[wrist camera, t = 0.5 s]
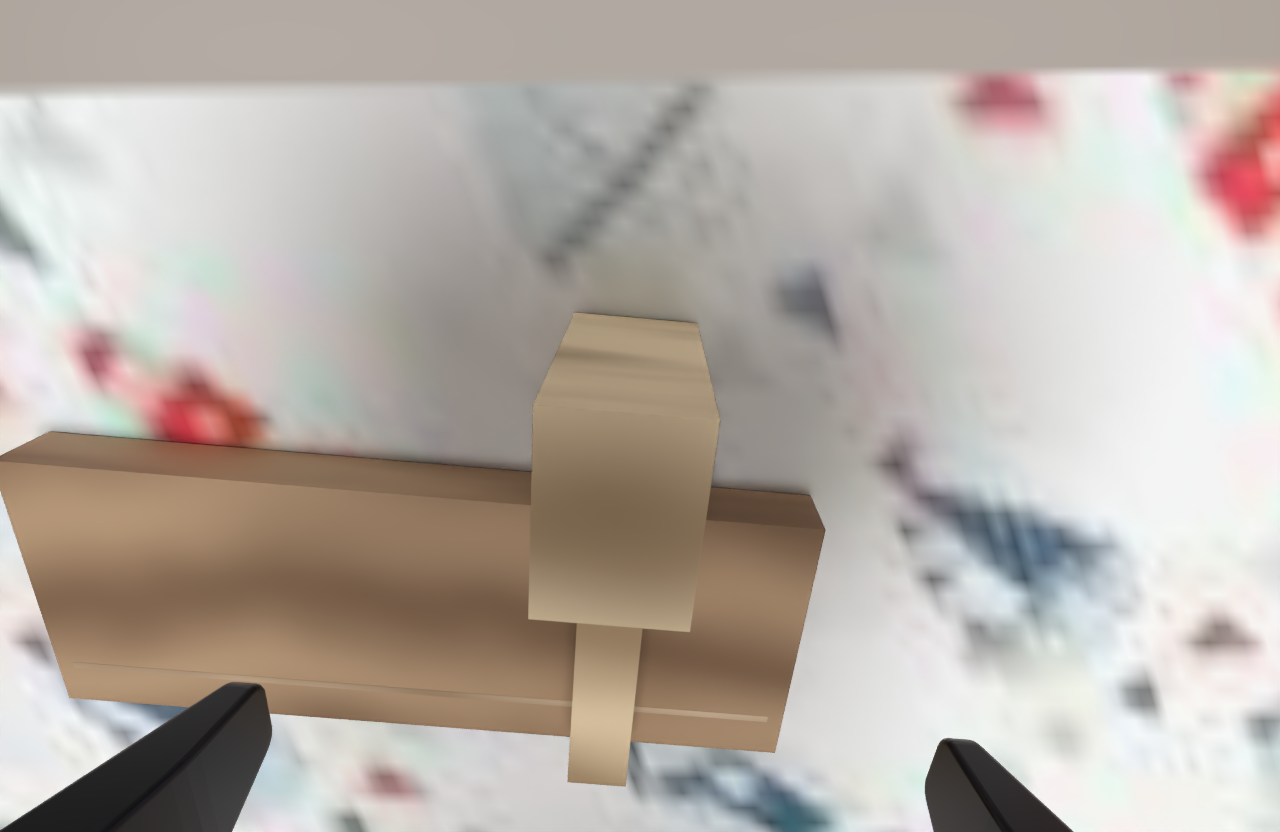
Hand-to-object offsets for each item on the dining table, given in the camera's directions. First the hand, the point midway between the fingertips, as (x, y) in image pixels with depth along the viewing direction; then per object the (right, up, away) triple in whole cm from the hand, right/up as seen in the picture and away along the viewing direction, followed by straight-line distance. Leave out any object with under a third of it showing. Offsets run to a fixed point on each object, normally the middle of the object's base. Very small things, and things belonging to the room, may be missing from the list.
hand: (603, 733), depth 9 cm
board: (-6, -1, +14) cm, 15 cm away
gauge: (0, +1, +13) cm, 13 cm away
